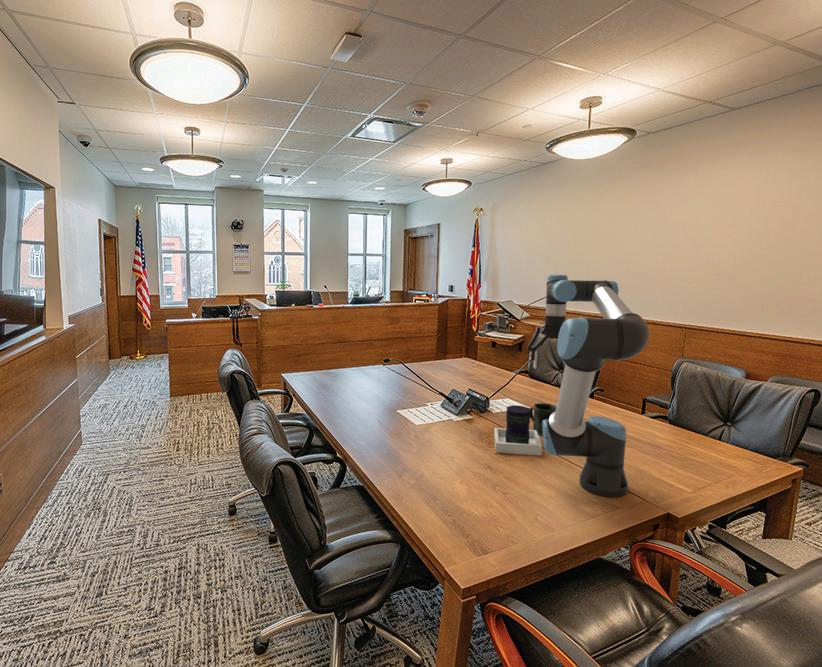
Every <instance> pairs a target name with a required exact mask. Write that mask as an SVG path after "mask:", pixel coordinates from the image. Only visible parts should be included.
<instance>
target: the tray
mask: <svg viewBox="0 0 822 667" xmlns="http://www.w3.org/2000/svg"><path fill="white" fill-rule="evenodd" d="M506 428H507V427H504V428H501V427H494V430H493V431H494V432H493V434H494V436H493V437H494V438H493V440H494V439H495V440H494V446H495V453H498V454H499V453H501V454H515V455H526V456H527V455H528V456H543V444H542V442H541V439H540V436H539V434H538V433H537V431H536V430H533V429H529V444H521V443H505V441H506V437H505V434H506Z"/></svg>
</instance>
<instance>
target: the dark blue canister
mask: <svg viewBox="0 0 822 667" xmlns="http://www.w3.org/2000/svg"><path fill="white" fill-rule="evenodd" d="M505 417H506V418H505V421H506V427H505V428H506V434H505V437H506V441H505V443H521V444H529V430H530V424H531V418H530V408H529V407H528V406H523V405H509V406H507V407H506V414H505Z"/></svg>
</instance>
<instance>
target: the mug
mask: <svg viewBox="0 0 822 667" xmlns="http://www.w3.org/2000/svg"><path fill="white" fill-rule="evenodd" d="M556 407H557V405H555V404H551V403H546V402H544V403H543V402H541V403H535V404H533V406H531V407H530V408H529V409H530V421H531V422H533V426H532V430H536V431H537V433H538V435H541V436H543V430H542V422H543V420H546V419H548V420H549V417H550V415H551V414H552V413H553V412H555V411H556Z"/></svg>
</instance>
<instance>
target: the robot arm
mask: <svg viewBox="0 0 822 667" xmlns="http://www.w3.org/2000/svg"><path fill="white" fill-rule="evenodd" d="M546 279H547V281H546V296H545V298H546V300H545V314H546V315H545V316H544V327H540V326H536V329H535V332H534V334H533V336H532V337H531V340H530V341H529V342H528V344H527V346H526V349H527V350H528V351H530V352H531V353H530V354H531V355H530V356H531V358H530V359H531V360H532V361H533V368H534V369H535V370H537V365H538V364H537V363H538V361H537V359H538V352H537V350H538V349H539V348H540V347H541V346H542V345H543V344H544V343H545V342H546V341H547V340H549V339H550V340H557V346H556V350H557V355H558V356H559V358H561V362H562V363H563V364H564V369H563V374H562V378H561V382H560V383H561V384H560V387H559V388H560V389H559V393H558V397H557V402H556V403H557V404H556V406H557V407H556V411H555V412H553V413H552V414H551V415H550V417H549V420H548V419H546V420H543V422H542V430H543V435H542V440H543V446H544V451H545V452H546V454H548V455H553V456H557V457H559V456H560V457H579V458H580V457H582V458H585V459H586V460H585V463H584V465H583V467H582V470H581V472H580V474H579V480H578V483H579V485H580V487H582V488H583V489H584V490H585V491H587V492H589V493H590V494H591V493H592V494H594V495H598V496H600V497H601V496H603V497H609V498H618V497H624V496H625V495H627V494H628V493H629V492H628V490H629V482H628V478H627V475H626V472H625V469H624V465H625V452H626V441H627V431H626V430H627V429H626V427H625V425H624V424H622V423H621V422H620V421H617V420H614V419H612V418H608V417H604V416H598V415H593V416H592V415H591V416H590V417H589V418H587V419H588V420H587V421H586V420H584V416H585V414H586V413H585V412H586V408H587V407H588V406H587V405H588V401H589V398H590V394H591V391H592V386H593V382H594V379H595V375H596V372H598V371H599V370H601V369H602V368H603V367H604V363H605V361H624V360H625V361H626V360H629V359H631V358H635V357H636V356H638V355H639V354H640V353H641V352H642V351H643V350H644V349H645V348H646V347H647V345H648V343H649V340H650V329H649V326H648V324H647V322H646V321H645V320H644V319H643V317H642V316H640V315H639V314H637V313H634V312H633V311H632V310H631V309H630V308H629V307H628V305H627V304H626V303H625V302H624V301H623V300H622V299H621V297H620V296H619V286H618V283H617V282H616V280H615V281H614V280H606V279H605V280H603V279H602V280H575V279H574V280H570V279H568V276H567V275H566V274H549V275H548V276H547V278H546ZM567 302H590V303H591V302H592V303H593V304H594V306H595V307H596V309H597V310H598V311H599V313H600V315H601V317H603V318H600V317H599V318H597V317H595V318H593V317H592V318H589V317H582V316H581V317H573V318H572V317H571V318H568V319H566V316H565V315H566V314H567ZM542 333H544V335H543V336H542V337H541V339H540V340H539V341H538V342H536V341H537V339H538V337H539V336H540V334H542ZM535 343H536V344H535ZM534 344H535V345H534Z"/></svg>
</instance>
